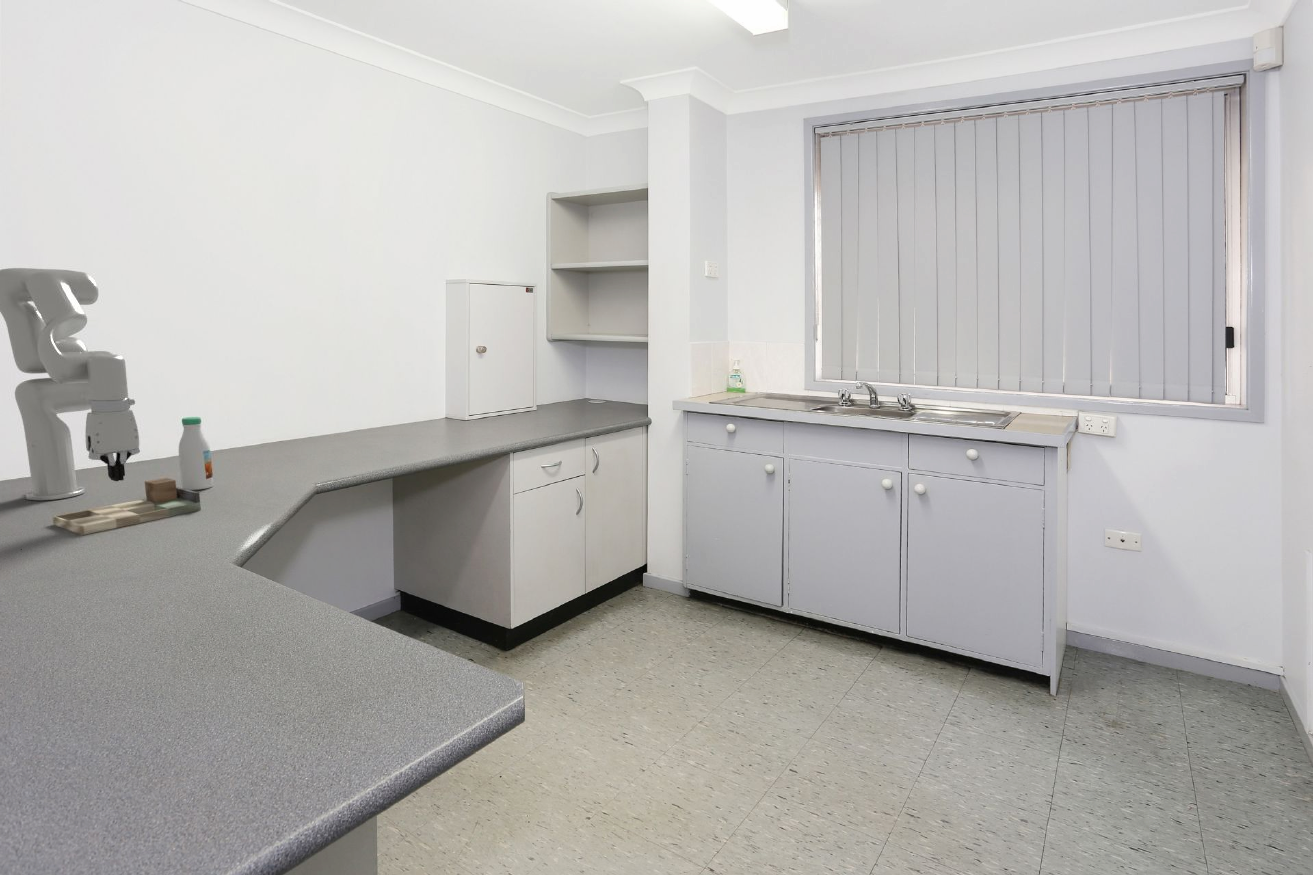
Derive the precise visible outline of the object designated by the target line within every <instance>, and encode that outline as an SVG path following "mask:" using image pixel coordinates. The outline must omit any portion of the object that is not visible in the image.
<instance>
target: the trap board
mask: <svg viewBox="0 0 1313 875" xmlns="http://www.w3.org/2000/svg"><path fill="white" fill-rule="evenodd" d="M176 491H177V499H176V500H171V501H166V502H160V503H154V502H150V501H147V499H146V498H143V499H137V500H132V501H131V500H130V501H127V502H121V503H116V504H111V505H105V506H100V507H95V508H89V509H84V510H78V511H73V512H69V513H62V514H58V515H57V514H56V515H53V516H52V523H53V525H54V526H57V527H59V528H62V529H65V530H68V531H70V532H72V533H75V534H77V535H81V536H84V535H88V534H89V535H90V534H93V533H99V532H103V531H108V530H112V529H117V528H121V527H127V526H131V525H136V524H141V523H144V522H146V523H147V522H150V521H151V522H152V521H154V520H159V519H164V518H169V517H173V516H174V517H175V516H179V515H184V514H189V513H193V512H197V511H201V510H202V507H201V497H200V492H199V491H196V490H187V489H183V488H182V487H178V486H176Z"/></svg>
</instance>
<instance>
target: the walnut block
mask: <svg viewBox="0 0 1313 875" xmlns="http://www.w3.org/2000/svg"><path fill="white" fill-rule="evenodd" d="M176 482H177V481H176V479H171V478H168V477H162V478H157V479H156V478H155V479H151V480H144V487H145V488H144V489H145V496H146V498H145V499H147V501H150V502H154V503H160V502H166V501H171V500H176V499H177V491H176V487H177V483H176Z"/></svg>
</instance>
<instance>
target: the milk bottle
mask: <svg viewBox="0 0 1313 875" xmlns="http://www.w3.org/2000/svg"><path fill="white" fill-rule="evenodd" d="M181 424H182V427H183V431H182V435H181V438H180V439H179V440H180V441H179V442H178V443H179V444H178V460H179V471H180V481H181V483H180V484H181V488H183V489H187V490H191V491H197V490H206V489H209V488H212V487H213V486H214V477H213V476H214V474H213V473H214V472H213V466H212V456H211V448H210V447H211V446H210V443H209V441H208V438H207V437H206V436H205V434H204V432H203V430H202V419H201V417H200V416H199V417H198V416H191V417H190V416H189V417H183V418H182V419H181Z"/></svg>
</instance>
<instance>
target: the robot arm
mask: <svg viewBox="0 0 1313 875" xmlns="http://www.w3.org/2000/svg"><path fill="white" fill-rule="evenodd" d="M98 298H99V288H98V284H97V283H96V281H95V279H93V277H92V276H91V275H89V274H88V273H87V272H83V271H75V270H69V269H55V268H54V269H53V268H52V269H51V268H31V267H28V268H27V267H26V268H25V267H12V268H2V269H0V314H1V316H2V317H3V319H4V322H5V325H6V327H7V328H6V329H7V334H8V337H9V341H10V346H11V350H12V354H13V359H14V363H15V365H16V367H17V369H18V370H19V371H20V372H22V373H26V374H31V375H33V374H47V375H48V376H49V377H42V378H33V379H32V378H31V379H28V380H25V381H22V382H20V383H19V384H17V386H16V387H15V391H14V397H15V402H16V404H17V406H18V410H19V413H20V416H21V420H22V424H23V430H24V436H25V444H26V450H27V451H26V452H27V458H28V459H27V460H28V464H29V465H28V466H29V473H30V480H31V481H30V482H31V487H32V490H31V491H28V492H26V493H25V499H26V500H29V501H50V500H51V501H52V500H61V499H67V498H72V497H76V496H79V495H82V494H84V493H85V491H86V490H85V487H84V486H80V485H78V482H77V477H76V476H77V475H76V467H75V459H74V452H73V451H74V450H73V443H72V437H71V436H72V435H71V430H70V428H69V426H68V425H67V423H66V422H65V421H63V420H62V419H61V418H59V416H58V414H65V413H74V412H75V413H76V412H84V411H88V412H87V413H86V414H87V415H86V418H85V419H86V421H85V447H86V448H85V449H86V451H87V452H88V459H89V460H92V461H94V460H96V461H101V462H102V463H104V464H106V465H107V474H108V478H109V479H110V480H111V481H114V482H119V481H124V478H125V477H124V476H126V471H125V464H126V463H127V461H128V459H130V457H132V456H135V455H137V454H140V451H141V449H140V436H139V429H138V424H137V422H136V417H135V415H134V412H133V410H132V409H131V406H134V405H135V404H136V401H135V399H133V398H130V397H129V391H128V380H127V379H128V377H127V369H126V368H127V366H126V361H125V358H124V357H123V356H122V355H119V354H113V353H112V352H110V351H107V350H106V351H105V350H93V351H88V348H87V347H86V345H85V344H84V342H83V341H82V340H81V339H79V338H77V337H74V336H73V335H75V334H77V333H79V332H80V331H82V330H83V329H84V328H85V327H86V325H87V323H88V317H87V315H86V313H85V311H84V310H83V308H82V306H88V305H90V306H91V305H93V304H95V303H96V302H97V301H98ZM29 302H33V304H34V305H32V304H31V303H29ZM89 410H91V411H90V412H89ZM114 454H115V457H114Z"/></svg>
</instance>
